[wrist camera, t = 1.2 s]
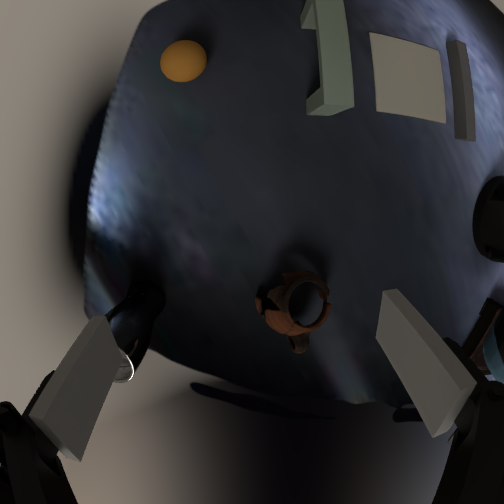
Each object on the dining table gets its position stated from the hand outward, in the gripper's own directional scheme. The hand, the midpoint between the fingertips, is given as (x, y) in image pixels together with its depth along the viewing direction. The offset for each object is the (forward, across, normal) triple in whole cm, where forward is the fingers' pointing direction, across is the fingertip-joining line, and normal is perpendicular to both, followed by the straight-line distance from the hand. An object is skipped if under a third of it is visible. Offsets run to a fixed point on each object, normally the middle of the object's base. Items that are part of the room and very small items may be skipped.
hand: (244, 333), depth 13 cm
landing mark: (+25, -25, -18) cm, 39 cm away
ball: (+23, +5, -19) cm, 31 cm away
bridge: (+26, -11, -18) cm, 33 cm away
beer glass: (+26, +16, +12) cm, 33 cm away
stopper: (+25, -34, -17) cm, 45 cm away
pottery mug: (+26, -6, +14) cm, 30 cm away
